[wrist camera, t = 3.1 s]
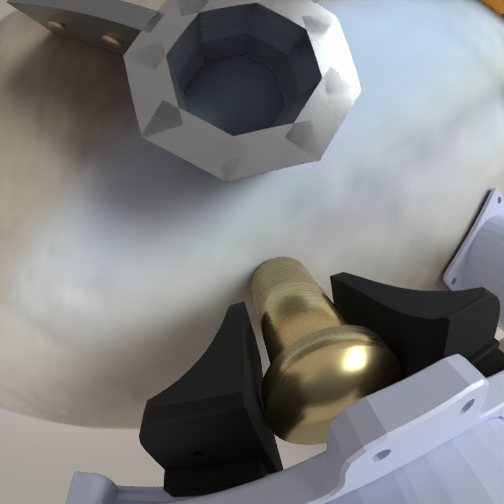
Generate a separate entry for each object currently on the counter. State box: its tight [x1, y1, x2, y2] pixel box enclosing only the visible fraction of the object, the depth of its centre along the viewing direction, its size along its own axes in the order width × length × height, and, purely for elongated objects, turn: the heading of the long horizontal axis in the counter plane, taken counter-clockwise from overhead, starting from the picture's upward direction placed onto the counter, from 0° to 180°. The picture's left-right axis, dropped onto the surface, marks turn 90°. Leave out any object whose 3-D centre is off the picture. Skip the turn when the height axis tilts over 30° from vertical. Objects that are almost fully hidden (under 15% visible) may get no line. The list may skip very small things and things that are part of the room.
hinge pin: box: [251, 257, 402, 445], centre depth 11 cm, size 4×4×8 cm
